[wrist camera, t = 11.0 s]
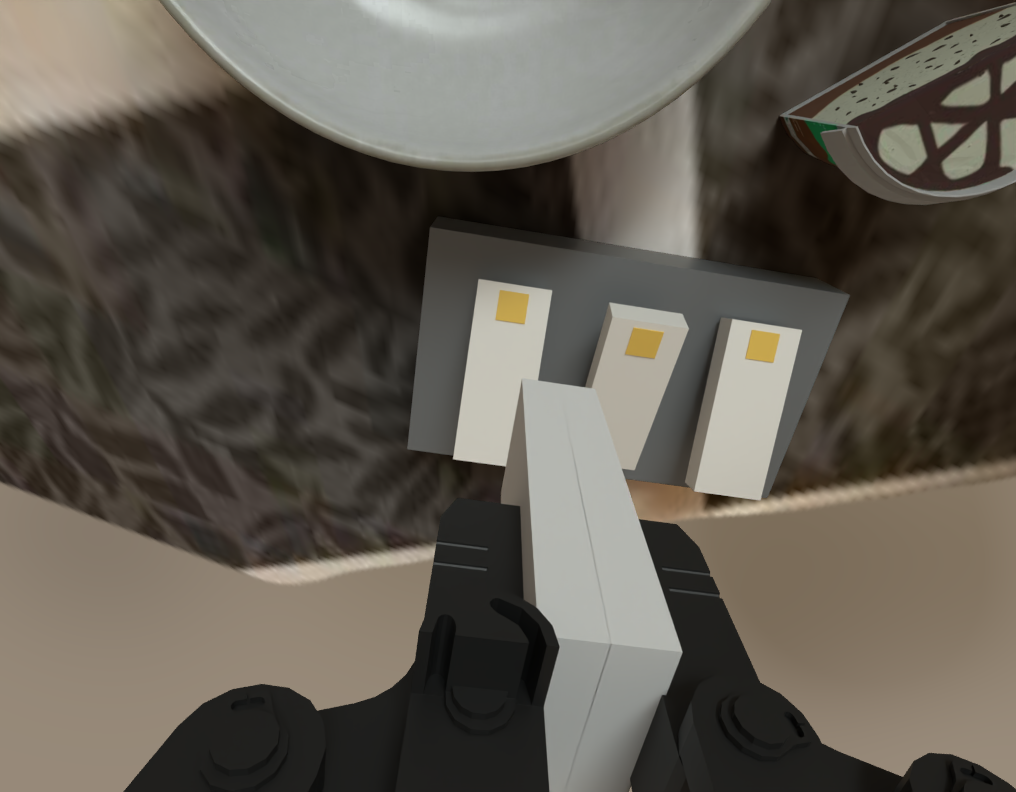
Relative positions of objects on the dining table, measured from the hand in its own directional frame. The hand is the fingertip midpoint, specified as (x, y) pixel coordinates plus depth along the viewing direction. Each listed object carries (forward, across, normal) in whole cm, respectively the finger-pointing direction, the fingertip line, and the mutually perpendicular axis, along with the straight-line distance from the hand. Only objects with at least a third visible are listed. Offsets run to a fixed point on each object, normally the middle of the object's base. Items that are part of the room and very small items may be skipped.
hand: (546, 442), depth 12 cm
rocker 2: (+20, +7, -7) cm, 22 cm away
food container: (+27, +19, +9) cm, 34 cm away
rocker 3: (+20, +14, -7) cm, 25 cm away
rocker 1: (+20, 0, -7) cm, 21 cm away
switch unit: (+26, +7, -7) cm, 28 cm away
